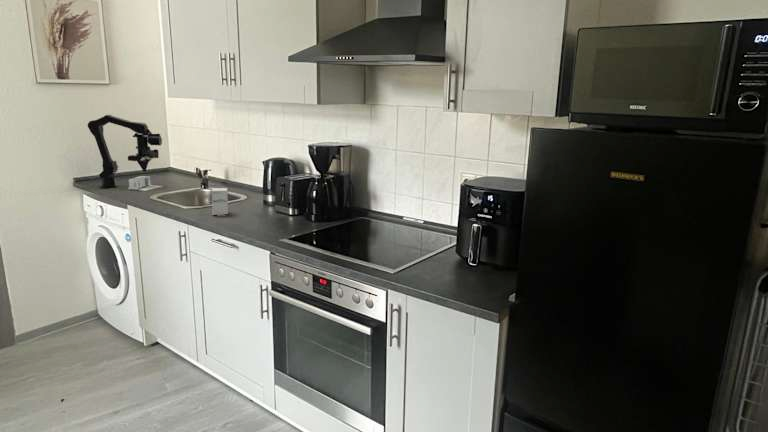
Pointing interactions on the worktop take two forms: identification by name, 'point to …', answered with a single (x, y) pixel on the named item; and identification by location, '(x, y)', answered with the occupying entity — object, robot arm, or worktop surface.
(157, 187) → the mat
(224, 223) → the worktop surface
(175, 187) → the worktop surface
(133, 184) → the syrup box
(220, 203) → the supplement box
